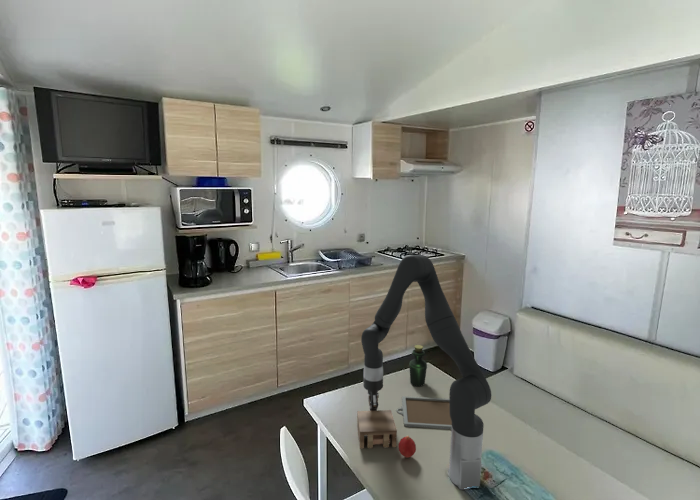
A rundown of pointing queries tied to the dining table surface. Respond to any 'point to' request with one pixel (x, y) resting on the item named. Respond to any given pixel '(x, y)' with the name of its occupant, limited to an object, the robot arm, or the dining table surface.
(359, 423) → the cubby
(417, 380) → the potion bottle
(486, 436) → the dining table surface
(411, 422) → the grey framed board
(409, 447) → the onion
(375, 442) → the tile
